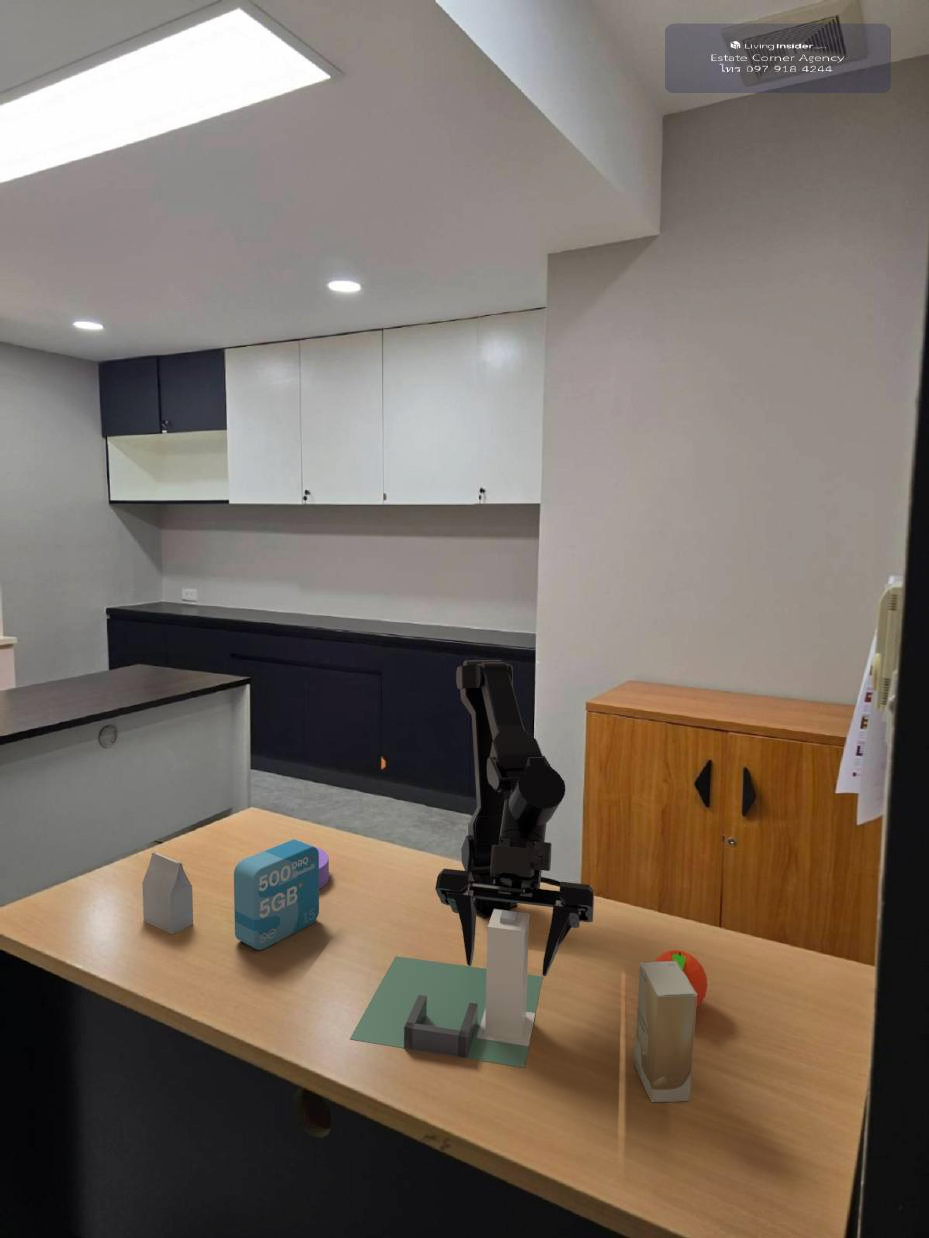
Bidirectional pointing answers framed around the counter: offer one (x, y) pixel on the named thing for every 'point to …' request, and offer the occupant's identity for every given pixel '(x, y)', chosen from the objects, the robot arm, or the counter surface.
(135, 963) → the counter surface
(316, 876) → the data package
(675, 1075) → the skincare box
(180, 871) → the grey milk carton
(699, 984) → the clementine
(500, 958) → the white tall block
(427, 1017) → the board
